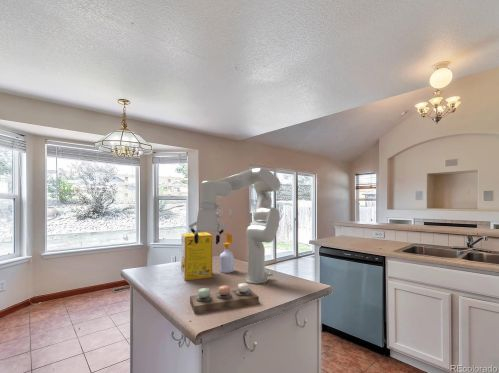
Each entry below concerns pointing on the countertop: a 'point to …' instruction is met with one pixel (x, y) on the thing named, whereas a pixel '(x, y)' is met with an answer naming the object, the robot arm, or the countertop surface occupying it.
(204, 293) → the button sage
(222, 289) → the button terracotta
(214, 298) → the console
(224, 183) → the robot arm
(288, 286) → the countertop surface
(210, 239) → the packaging box
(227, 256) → the soap bottle
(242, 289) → the button cream
